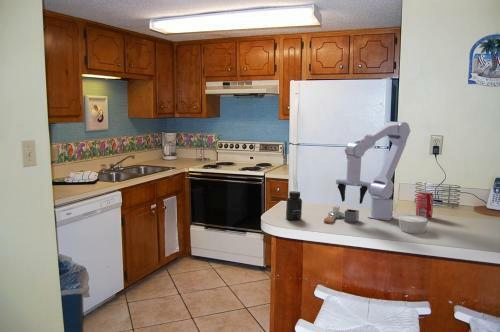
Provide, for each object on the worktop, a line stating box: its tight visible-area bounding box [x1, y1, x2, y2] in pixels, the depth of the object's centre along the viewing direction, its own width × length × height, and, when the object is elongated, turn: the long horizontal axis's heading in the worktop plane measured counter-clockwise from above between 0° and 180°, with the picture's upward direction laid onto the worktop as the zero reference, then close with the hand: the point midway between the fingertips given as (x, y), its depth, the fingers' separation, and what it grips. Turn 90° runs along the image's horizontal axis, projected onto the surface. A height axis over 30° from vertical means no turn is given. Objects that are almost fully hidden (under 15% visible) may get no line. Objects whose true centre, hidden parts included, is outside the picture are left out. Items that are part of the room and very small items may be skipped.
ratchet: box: [323, 205, 345, 225], centre depth 184 cm, size 16×7×4 cm, turn 152°
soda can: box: [415, 190, 435, 220], centre depth 189 cm, size 7×7×12 cm
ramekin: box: [397, 214, 429, 235], centre depth 168 cm, size 11×11×5 cm
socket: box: [343, 208, 360, 224], centre depth 181 cm, size 5×5×4 cm
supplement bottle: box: [285, 190, 303, 222], centre depth 182 cm, size 7×7×12 cm
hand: (352, 202), depth 180 cm, fingers open, 7 cm apart
